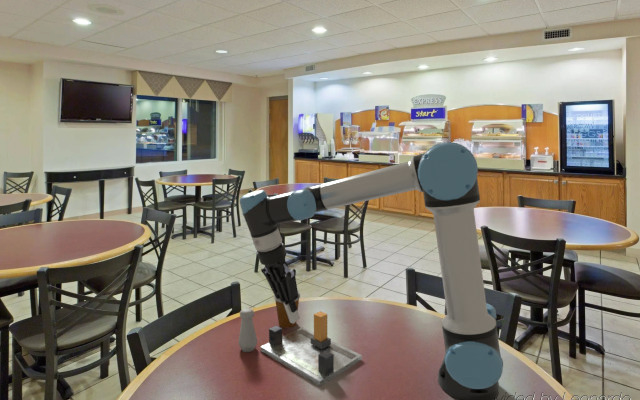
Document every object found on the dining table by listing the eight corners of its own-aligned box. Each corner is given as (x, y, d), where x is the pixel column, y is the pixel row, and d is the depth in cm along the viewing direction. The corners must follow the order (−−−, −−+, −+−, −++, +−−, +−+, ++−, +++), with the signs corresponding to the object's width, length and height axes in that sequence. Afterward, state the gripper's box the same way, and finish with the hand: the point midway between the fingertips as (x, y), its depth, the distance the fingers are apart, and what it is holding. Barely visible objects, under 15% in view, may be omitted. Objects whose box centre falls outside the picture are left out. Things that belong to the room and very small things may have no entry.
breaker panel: (361, 359, 114) (362, 339, 114) (319, 386, 102) (319, 363, 101) (302, 331, 132) (302, 313, 132) (260, 350, 120) (260, 331, 119)
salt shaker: (249, 342, 125) (248, 304, 123) (261, 348, 122) (260, 309, 120) (234, 349, 121) (233, 310, 119) (246, 355, 117) (245, 315, 115)
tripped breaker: (330, 344, 120) (330, 314, 118) (321, 349, 117) (321, 318, 116) (319, 339, 123) (319, 309, 122) (310, 343, 120) (310, 313, 119)
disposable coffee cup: (302, 318, 142) (302, 288, 141) (298, 330, 133) (298, 298, 131) (277, 317, 143) (276, 287, 142) (271, 329, 134) (271, 297, 132)
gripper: (245, 251, 106) (271, 323, 112) (274, 254, 97) (301, 333, 102) (265, 239, 111) (289, 309, 117) (294, 241, 102) (319, 317, 107)
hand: (295, 320), depth 110 cm, fingers closed
